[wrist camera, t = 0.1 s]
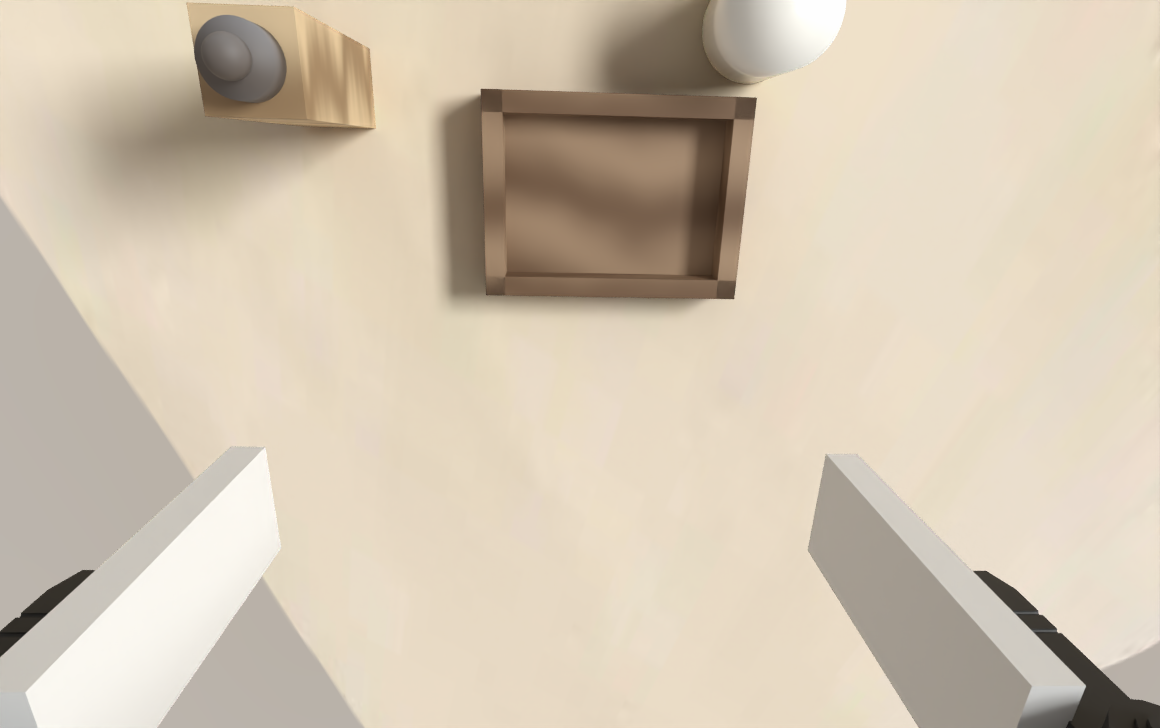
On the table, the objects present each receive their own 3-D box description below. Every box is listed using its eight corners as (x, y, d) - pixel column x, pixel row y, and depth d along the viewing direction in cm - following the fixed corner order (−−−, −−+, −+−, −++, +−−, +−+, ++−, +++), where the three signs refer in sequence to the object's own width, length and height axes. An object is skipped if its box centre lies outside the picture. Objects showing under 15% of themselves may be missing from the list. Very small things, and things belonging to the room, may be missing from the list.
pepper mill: (293, 46, 36) (145, -14, 23) (369, 48, 36) (265, -10, 23) (303, 126, 37) (168, 112, 24) (375, 128, 37) (280, 115, 24)
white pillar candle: (706, -31, 35) (736, -66, 30) (807, -27, 35) (855, -61, 30) (697, 82, 37) (723, 69, 31) (793, 85, 37) (835, 73, 32)
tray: (485, 92, 37) (480, 88, 34) (744, 101, 38) (756, 97, 35) (490, 286, 41) (486, 294, 38) (723, 290, 42) (734, 299, 39)
